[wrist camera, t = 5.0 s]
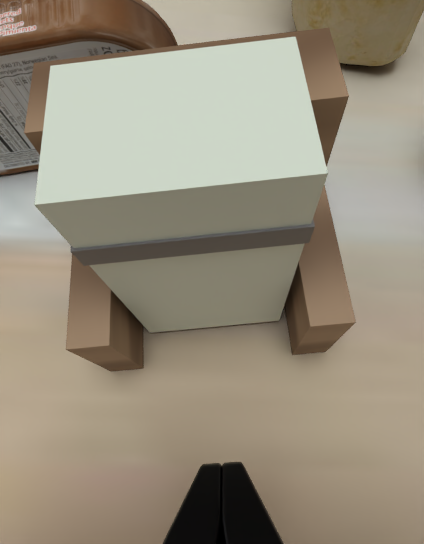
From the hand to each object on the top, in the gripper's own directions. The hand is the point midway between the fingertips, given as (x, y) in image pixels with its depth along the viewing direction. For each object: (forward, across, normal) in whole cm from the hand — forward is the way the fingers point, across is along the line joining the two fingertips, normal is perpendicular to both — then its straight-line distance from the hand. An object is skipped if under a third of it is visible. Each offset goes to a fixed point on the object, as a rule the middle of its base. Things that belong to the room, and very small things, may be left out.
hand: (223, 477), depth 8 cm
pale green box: (+11, 0, +1) cm, 11 cm away
